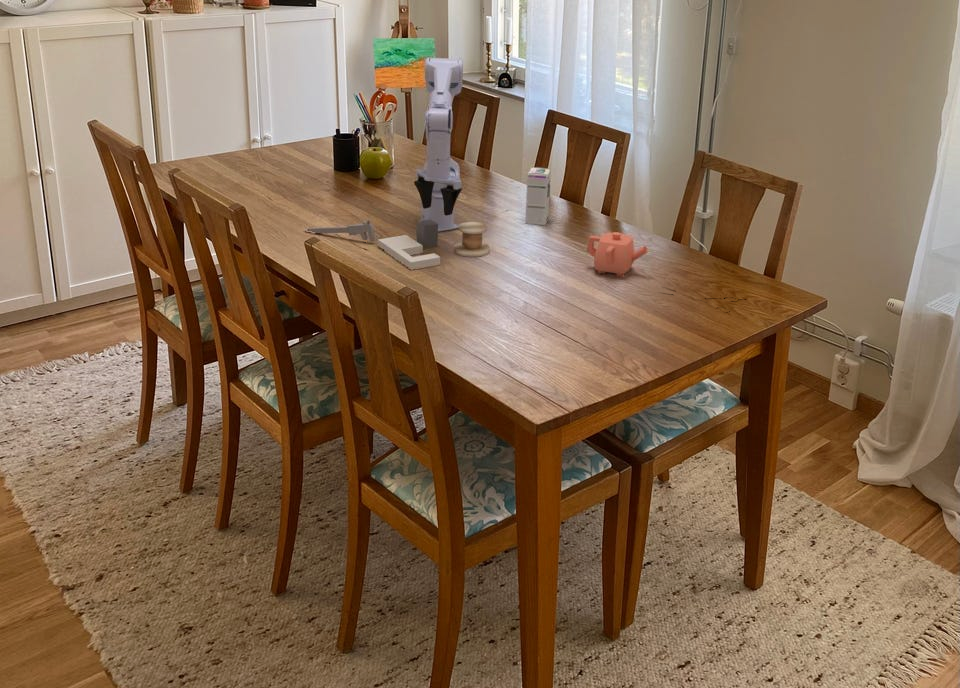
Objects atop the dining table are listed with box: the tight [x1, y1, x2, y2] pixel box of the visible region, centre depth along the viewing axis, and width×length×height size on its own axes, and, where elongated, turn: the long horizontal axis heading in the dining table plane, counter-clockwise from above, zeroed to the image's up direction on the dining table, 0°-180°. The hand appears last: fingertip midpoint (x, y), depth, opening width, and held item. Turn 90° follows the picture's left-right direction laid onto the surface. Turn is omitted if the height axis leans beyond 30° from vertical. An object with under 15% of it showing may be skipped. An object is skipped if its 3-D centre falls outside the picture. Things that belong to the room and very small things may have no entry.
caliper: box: [306, 219, 375, 243], centre depth 260 cm, size 20×1×6 cm, turn 68°
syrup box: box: [525, 167, 552, 226], centre depth 275 cm, size 6×6×14 cm
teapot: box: [586, 231, 649, 277], centre depth 244 cm, size 12×12×10 cm
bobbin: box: [453, 221, 491, 258], centre depth 254 cm, size 9×9×6 cm
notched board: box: [377, 234, 441, 271], centre depth 250 cm, size 18×8×2 cm, turn 31°
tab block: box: [416, 219, 439, 249], centre depth 257 cm, size 4×4×6 cm
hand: (437, 211), depth 252 cm, fingers open, 7 cm apart
